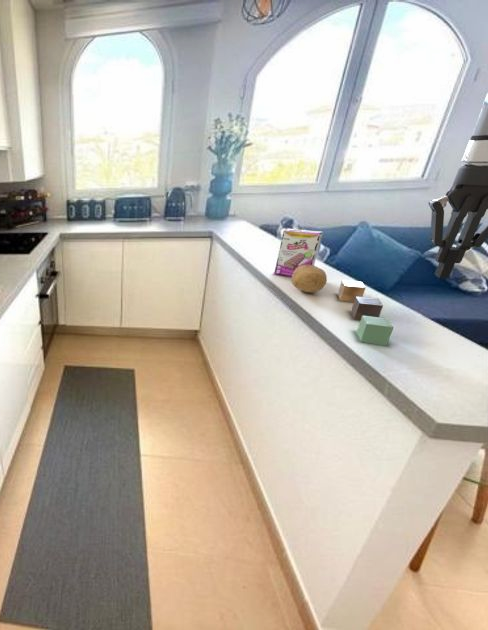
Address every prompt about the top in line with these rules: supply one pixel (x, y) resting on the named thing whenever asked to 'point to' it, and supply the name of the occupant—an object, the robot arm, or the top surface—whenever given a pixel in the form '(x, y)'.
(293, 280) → the potato
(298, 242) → the candy bar box
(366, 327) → the sage block
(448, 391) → the top surface
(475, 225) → the robot arm
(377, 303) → the walnut block
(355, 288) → the oak block
